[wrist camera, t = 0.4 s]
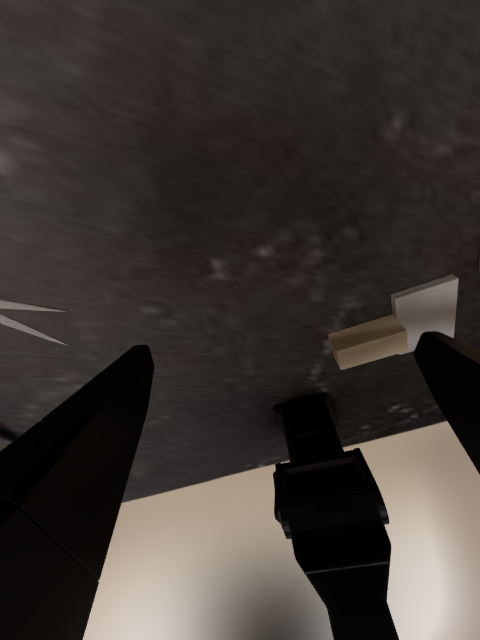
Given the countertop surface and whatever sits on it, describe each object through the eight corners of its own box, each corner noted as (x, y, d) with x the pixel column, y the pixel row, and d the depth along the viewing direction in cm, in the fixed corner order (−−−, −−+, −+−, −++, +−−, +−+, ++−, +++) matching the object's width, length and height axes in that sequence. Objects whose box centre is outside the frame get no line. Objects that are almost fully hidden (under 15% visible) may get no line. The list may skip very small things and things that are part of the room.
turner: (448, 334, 27) (466, 351, 25) (336, 366, 29) (344, 385, 27) (451, 274, 23) (473, 288, 21) (322, 316, 25) (331, 333, 23)
